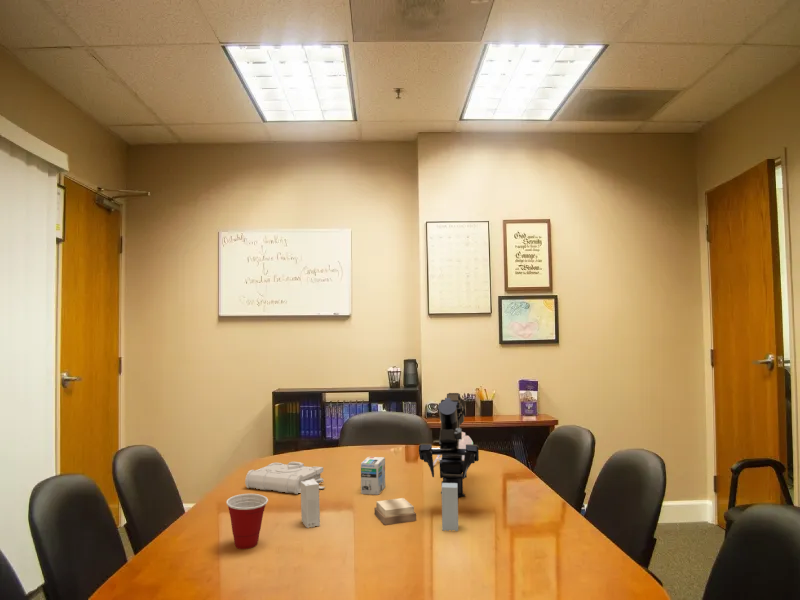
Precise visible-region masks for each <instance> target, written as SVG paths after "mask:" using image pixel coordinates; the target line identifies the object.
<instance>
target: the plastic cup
mask: <svg viewBox="0 0 800 600" xmlns="http://www.w3.org/2000/svg"><path fill="white" fill-rule="evenodd" d="M225 501H226V506H227V507H228V511H229V513H228V514H229V517H230V522H231V525H230V526H231V531H232V535H233V542H234V545H235V548H236V549H239V550H246V549H247V550H248V549H251V548H254V547H256V546H257V545H258V542H259V537H260V532H261V528H262V524H263V517H264V513H265V508H266V505H267V503H268V502H269V499H268V497H267V496H264V494H258V493H242V494H241V493H240V494H236V495H233V496H231V497H229V498H228V499H227V500H225Z"/></svg>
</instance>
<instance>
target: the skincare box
mask: <svg viewBox="0 0 800 600" xmlns="http://www.w3.org/2000/svg"><path fill="white" fill-rule="evenodd" d="M319 486H320V484H318V483H317V482H316V481H314V480H306V481H301V494H300V507H301V508H300V509H301V511H300V512H301V523H302V522H303V523H302V524H303V526H305V528H306V529H307V528H309V527H311V528H316V527H315V526H317V527H319V526H320V525H321V519H320V517H321V510H320V508H321V507H320V489H319ZM309 529H310V528H309Z"/></svg>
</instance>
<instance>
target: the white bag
mask: <svg viewBox="0 0 800 600" xmlns="http://www.w3.org/2000/svg"><path fill="white" fill-rule="evenodd" d="M322 473H324V466H305V463H304V462H300V461H290V462H288V463H287V464H286V463H285V464H284V463H282V462H272V463H269V464H267V465H266V466H263V467H261V468H259V469H250V470H248V472H247V473H246V475H245V478H244V479H245V481H244V483H245V486H246V488H247V489H249V488H251V489H255V488H256V489H255V490H258V489H260V490H259V491H271V490H273V491H272V492H278V493H282V492H285V494H295V495H299V494H298V493H301V481H306V480H314V481H316V482H317V483H318V484H319V483H321V482H323V483H324V478H323V477H321V474H322ZM321 484H322V483H321ZM325 488H326V486H322V485H321V486H320V484H319V490H323V489H325Z"/></svg>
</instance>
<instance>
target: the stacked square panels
mask: <svg viewBox="0 0 800 600" xmlns="http://www.w3.org/2000/svg"><path fill="white" fill-rule="evenodd" d="M375 503H376V507H375V506H374V515H375V517H376V518H377V519H378V520H379V521H380V522H381V523H382V524H383V525H384V526H387V525H395V524H401V523H402V524H403V523H408V522H409V523H410V522H416V521H417V513H416V512H415V506H414V505H412V503H410V502H409V501H408V500H407V499H405V497H400V498H392V499H391V498H390V499H385V500H378V501H377V500H376V502H375Z"/></svg>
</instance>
